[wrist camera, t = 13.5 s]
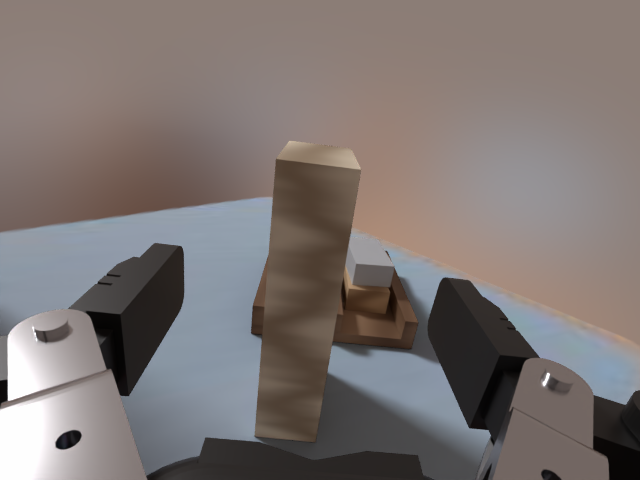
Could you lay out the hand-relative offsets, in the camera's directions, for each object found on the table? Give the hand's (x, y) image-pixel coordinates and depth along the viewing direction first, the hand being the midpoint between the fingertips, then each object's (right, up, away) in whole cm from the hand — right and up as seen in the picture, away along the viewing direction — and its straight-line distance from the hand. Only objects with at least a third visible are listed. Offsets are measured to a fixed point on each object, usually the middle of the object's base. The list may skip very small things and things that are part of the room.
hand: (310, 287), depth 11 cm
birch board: (-2, -10, +16) cm, 19 cm away
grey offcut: (+5, -2, +29) cm, 30 cm away
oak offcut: (+5, -4, +29) cm, 30 cm away
